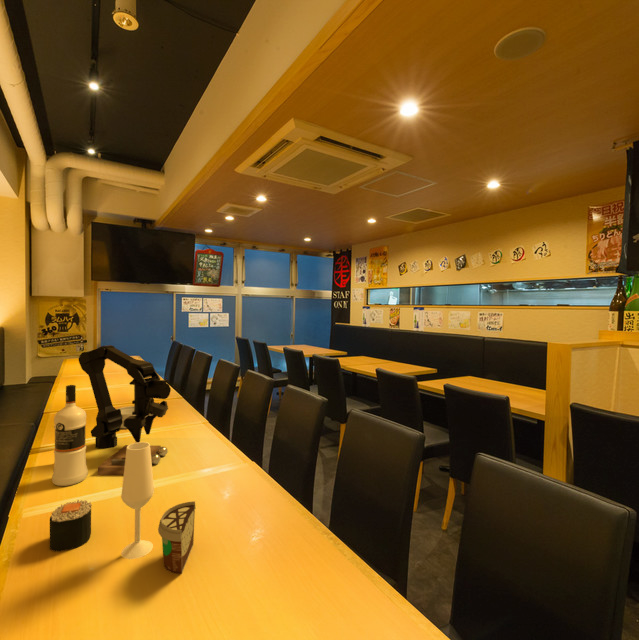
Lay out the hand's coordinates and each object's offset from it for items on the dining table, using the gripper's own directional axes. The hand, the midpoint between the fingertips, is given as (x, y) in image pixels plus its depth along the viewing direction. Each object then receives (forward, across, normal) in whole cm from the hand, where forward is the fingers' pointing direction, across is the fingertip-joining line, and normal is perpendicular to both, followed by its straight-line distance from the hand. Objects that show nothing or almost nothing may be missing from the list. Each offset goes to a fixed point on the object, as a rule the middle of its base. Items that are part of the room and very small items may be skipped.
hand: (143, 438), depth 138 cm
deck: (+6, -8, +1) cm, 10 cm away
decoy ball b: (+4, -10, -8) cm, 13 cm away
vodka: (+6, -22, +14) cm, 26 cm away
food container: (+7, -59, -30) cm, 66 cm away
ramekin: (+5, +33, +20) cm, 39 cm away
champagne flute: (+7, -55, -21) cm, 60 cm away
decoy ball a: (+4, -2, -8) cm, 9 cm away
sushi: (+6, -52, -4) cm, 52 cm away
